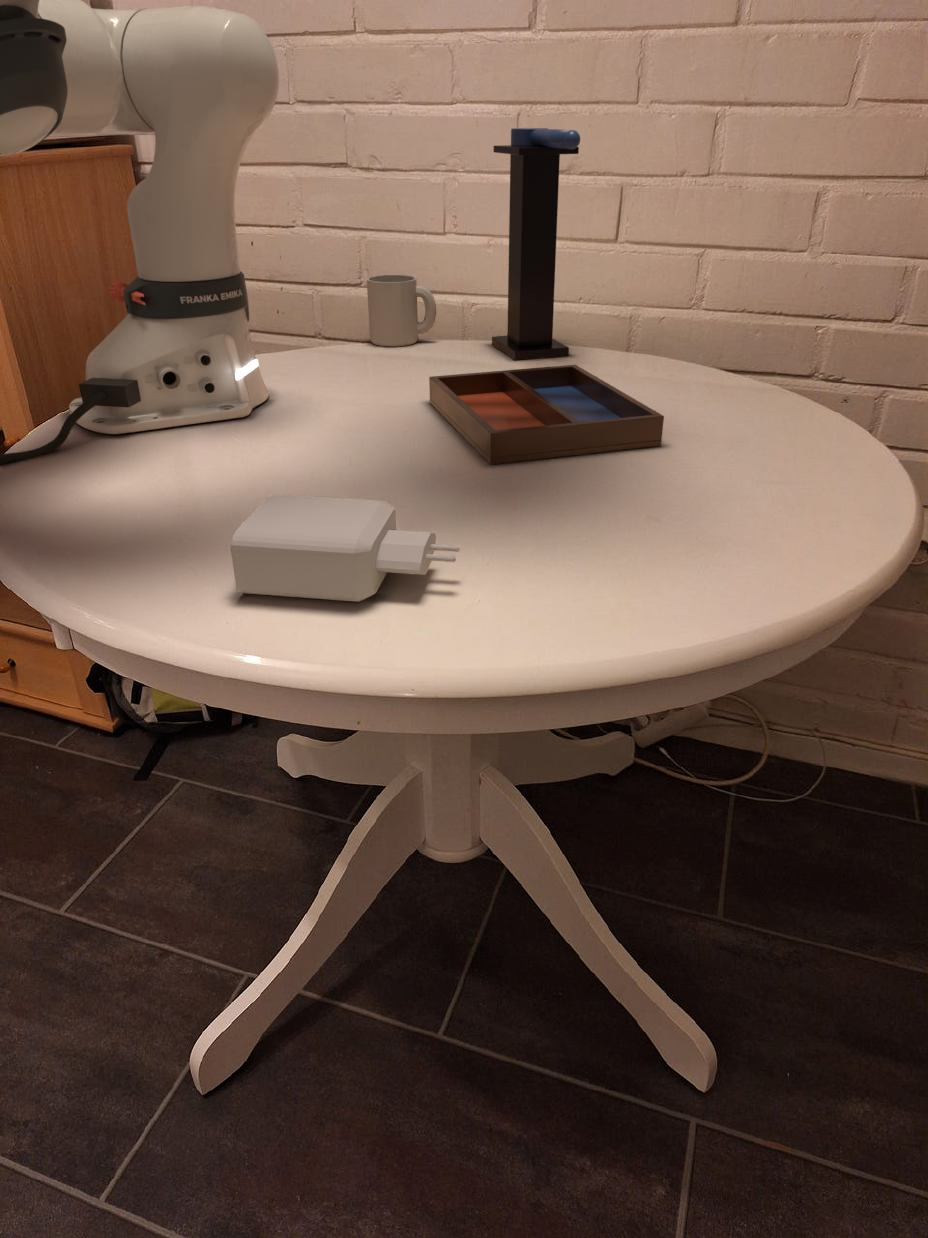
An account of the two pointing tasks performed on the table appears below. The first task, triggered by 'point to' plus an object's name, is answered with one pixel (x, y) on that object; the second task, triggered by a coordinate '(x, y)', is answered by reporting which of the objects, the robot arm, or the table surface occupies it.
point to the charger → (326, 548)
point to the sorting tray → (543, 413)
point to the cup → (397, 310)
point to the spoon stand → (532, 252)
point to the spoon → (545, 137)
